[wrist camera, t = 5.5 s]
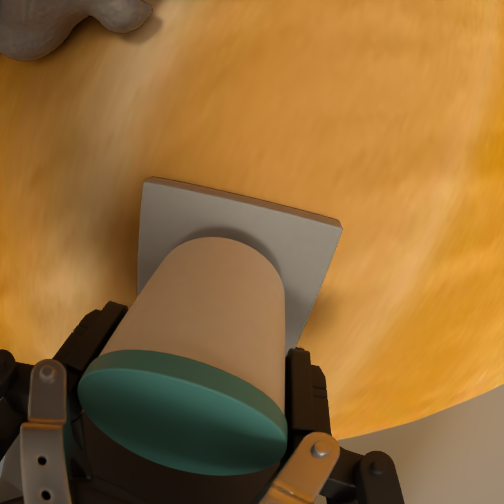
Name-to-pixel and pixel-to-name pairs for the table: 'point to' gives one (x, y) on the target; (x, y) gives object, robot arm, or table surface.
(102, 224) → the table surface
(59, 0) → the piggy bank
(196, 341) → the container
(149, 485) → the coffee maker
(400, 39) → the table surface
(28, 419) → the robot arm
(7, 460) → the candle holder
